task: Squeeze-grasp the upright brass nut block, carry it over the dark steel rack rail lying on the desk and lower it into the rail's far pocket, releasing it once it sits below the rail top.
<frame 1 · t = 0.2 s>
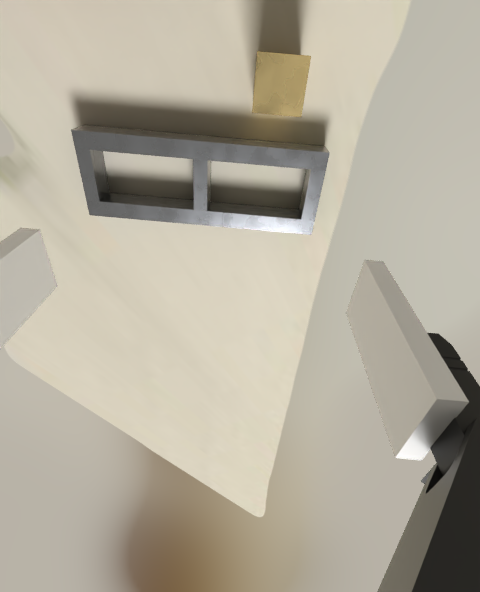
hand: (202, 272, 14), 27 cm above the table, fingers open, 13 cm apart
rack rail: (204, 178, 37), on the table
cage nut: (276, 79, 31), on the table
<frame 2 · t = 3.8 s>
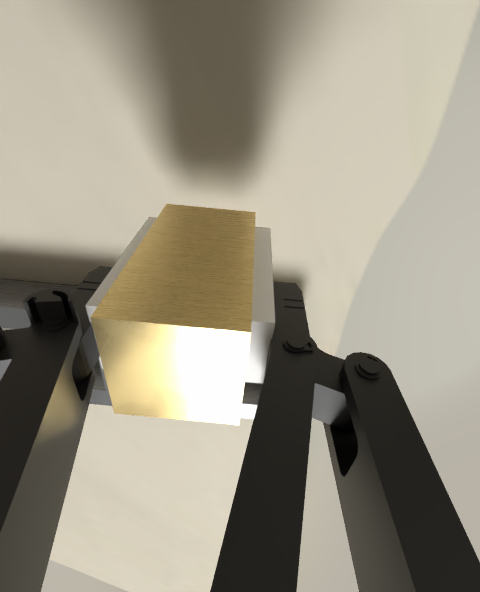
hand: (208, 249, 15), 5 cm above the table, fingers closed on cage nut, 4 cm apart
rack rail: (125, 337, 25), on the table
cage nut: (210, 247, 16), point 4 cm above the table, touching gripper
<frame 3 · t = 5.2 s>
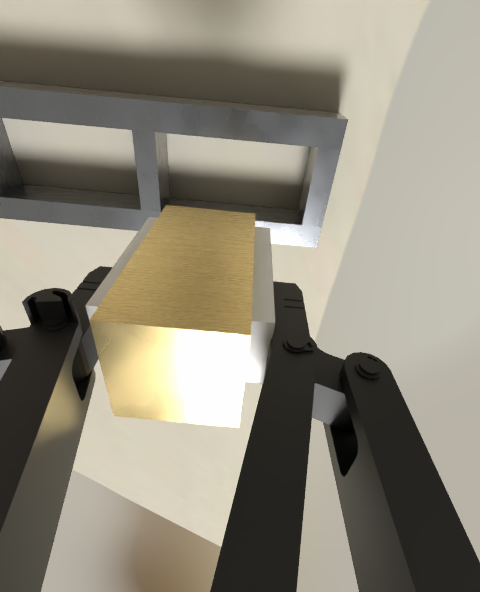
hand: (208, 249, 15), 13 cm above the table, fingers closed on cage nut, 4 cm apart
rack rail: (158, 162, 25), on the table
cage nut: (209, 249, 16), point 12 cm above the table, touching gripper
when the fingers open (0 cm above the table, at t = 6.9 s): cage nut stays where it is, resting in rack rail.
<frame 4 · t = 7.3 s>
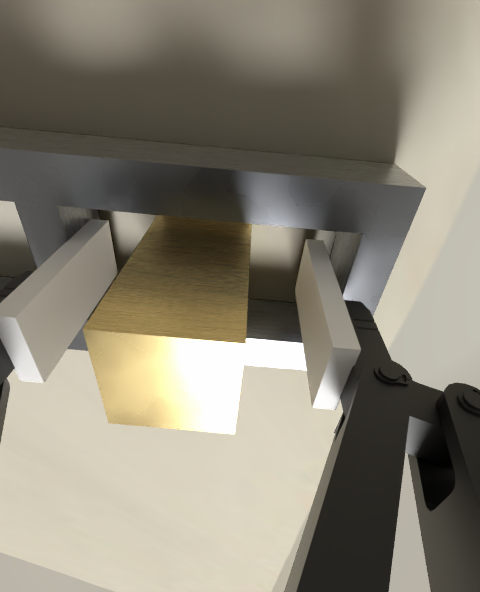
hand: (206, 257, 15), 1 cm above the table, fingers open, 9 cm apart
rack rail: (88, 237, 15), on the table
cage nut: (206, 252, 16), resting in rack rail
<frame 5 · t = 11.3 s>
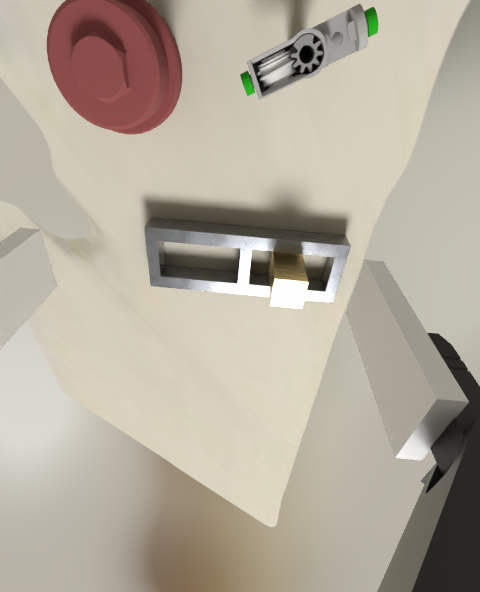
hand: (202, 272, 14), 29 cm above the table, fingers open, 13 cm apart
mechanical component: (295, 56, 32), on the table
mechanical component 2: (147, 66, 33), on the table
rack rail: (245, 256, 46), on the table
cage nut: (284, 261, 46), resting in rack rail
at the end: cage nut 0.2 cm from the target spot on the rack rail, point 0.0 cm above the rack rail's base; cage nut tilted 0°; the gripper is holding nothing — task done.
